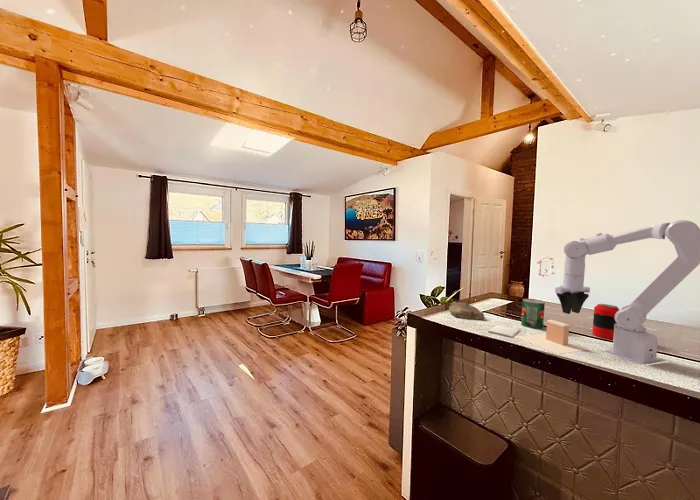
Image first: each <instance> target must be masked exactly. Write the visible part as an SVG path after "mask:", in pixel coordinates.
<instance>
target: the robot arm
mask: <svg viewBox="0 0 700 500" xmlns="http://www.w3.org/2000/svg"><path fill="white" fill-rule="evenodd" d="M666 238H667V239H668V240H669V241H670V242H671V243H672V245H674V246H673V247H674V249H675V251H676V254H677V257H676V258H675V259H674V260H673V261H672V262H671V263H670V264H669V265H667V267H666V268H665V269H664V270H663V271H662V272H661V273H660V274H659V275H658V276H657V277H656V278H655V279H654V280H653V281H652V282H651V283H650V284H649V285H648V286H647V287H646V288H645V289H644V290H643V291H642V292H641V293H640V294H639V295H638V296H637V297H636V298H635V299H634V300H633V301H632V302H631V303H630V304H628V305H625V306H623V307H621V309H619V311H617V312H616V314H615V321H616V324H614V336H613V340H612V349H606V350H605V352H606V353H609V354H612V355H615V356H619V357H620V358H621V357H622V358H624V359H627V360H630V361H633V362H636V363H639V364H647V363H654V362H658V359H657V357H658V356H657V354H658V338H657V336H656V335H655V334H653V333H649V332H648V331H647V328H646V327H645V326H644V325H643V323H645V322H646V319H647V316H648V314H649V313H650V312H651V311H652V310H653V309H654V308H655V307H656V306H657V305H658V304H659V303H661V301H663V300H664V299H665V297H667V295H669V294H670V292H672V291H673V290H674V289H675V288H676V287H678V285H679V284H681V283H682V281H683V280H684V279H686V277H688V276H689V275H690V274H691V273H692V272H693V271H694V270H695V269H696V268H697V267H698V266H699V265H700V227H699V226H698V224H696V223H695V222H693V221H691V220H686V219H685V220H683V219H681V220H675V221H673V222H671V223H670V222H663V223H657V224H652V225H649V226H644V227H639V228H636V229H633V230H630V231H626V232H623V233H619V234H615V235H612V234H609V233H602V232H599V233H596V235H595V236H592V237H591V236H590V237H587V238H584V237H583V238H579V241H578V240H572V241H569V242H567V243H566V244H565V246H564V247H563V252H564V254H565V261H564V270H563V282H562V285H560V286H558V287H557V286H555V290H554V293H555V294H556V297H557V298H558V300H559V302H560V305H561V309H562V313H564V314H567V315H570V314H571V312H572V313H575V314H580V312H581V310H582V307H583V305H584V304H585V302H586V301H587V299H588V298H589V295H590V294H589V293H590V291H591V287H588V286H584V282H585V273H586V272H585V271H586V256H587V255H588V256H592V255H595V254H600V253H605V252H609V251H613V250H614V249H615V248H616V246H617V245H622V244H626V243H632V242H636V241H641V240H646V239H658V240H666Z"/></svg>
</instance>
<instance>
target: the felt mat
mask: <svg viewBox="0 0 700 500" xmlns="http://www.w3.org/2000/svg"><path fill="white" fill-rule="evenodd" d="M514 338H517V339H520V340H521V341H524V342H526V343H530V344H531V345H534V346H536V347H538V348H542V349H544V350H547V351H548V352H551V353H553V354H557V355H558V354H559V355H560V354H567V353H575V352H576V353H577V352H583V351H588V350H589V349H587V348H584V347H581V346H580V345H575V344H573V343H570V342H568V345H560V344H557V343H555V342H552V341H549V340H546V333H545V334H544V333H537V334H527V335H515V336H514Z"/></svg>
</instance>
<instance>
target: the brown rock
mask: <svg viewBox="0 0 700 500" xmlns="http://www.w3.org/2000/svg"><path fill="white" fill-rule="evenodd" d="M448 311H449V313H450V314H451V315H453V316H454V317H456V318H460V319H465V320H471V319H472V320H481V321H482V320H483V319H484V318H485V315H484V312H483V311H480V310H479V309H478V308H477V307H475V306H473V305H471V304H469V303H467V302H460V301H458V302H451V303H450V304H449V307H448Z"/></svg>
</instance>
